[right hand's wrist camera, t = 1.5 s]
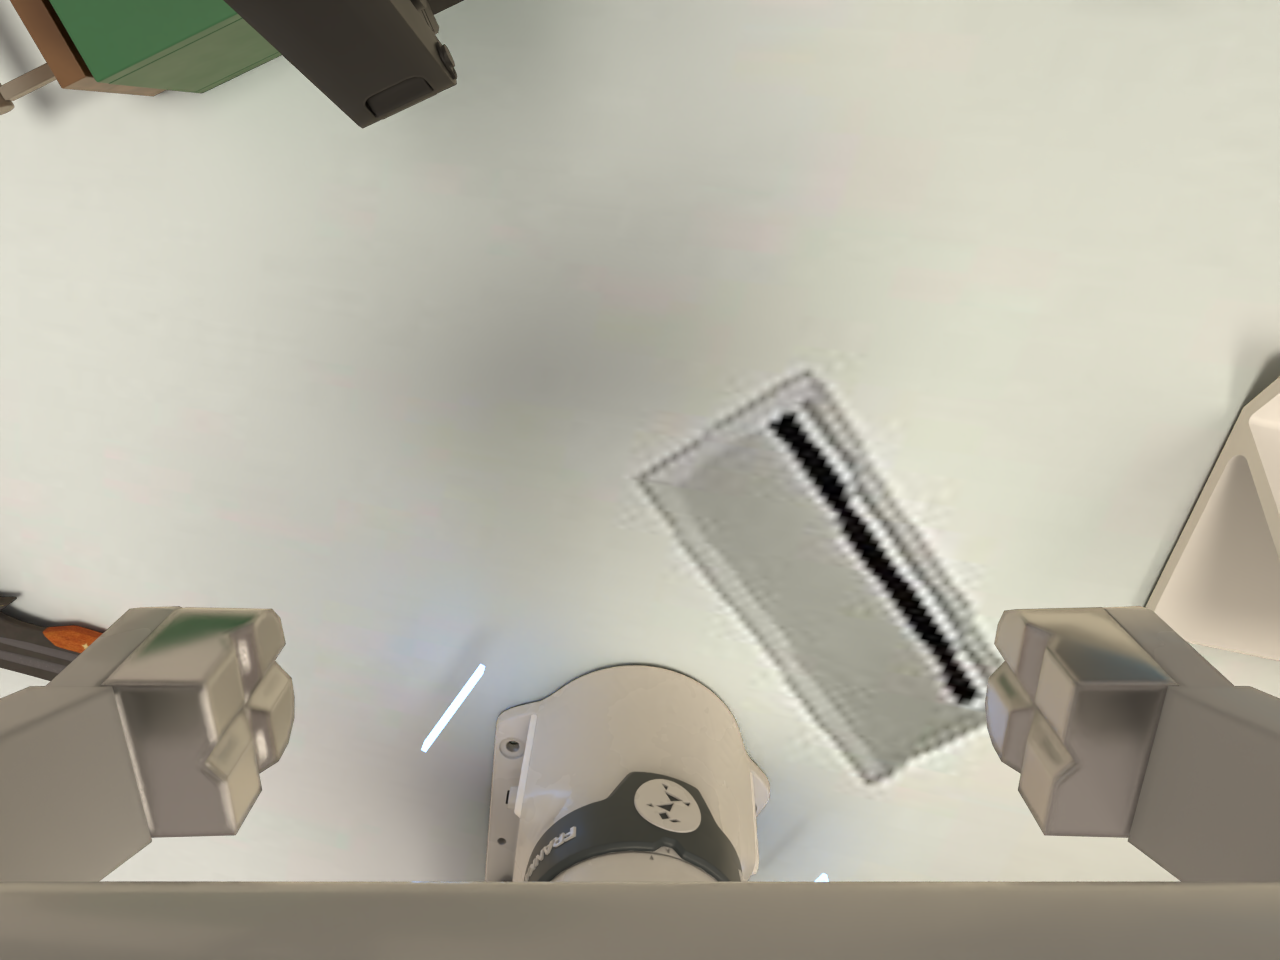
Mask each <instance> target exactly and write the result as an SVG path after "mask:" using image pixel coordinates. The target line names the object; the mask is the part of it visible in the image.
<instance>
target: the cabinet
mask: <svg viewBox="0 0 1280 960" xmlns="http://www.w3.org/2000/svg"><path fill="white" fill-rule="evenodd" d="M49 1H50V3H51V4H52V6H53V8H54V9H55V11H56V13H57V15H58V16H59V18H60V20H61V22H62V23H63V25H64V27H65V29H66V30H67V32H68V34H69V35H70V37H71V39H72V41H73V42H74V44H75V46H76V48H77V49H78V51H79V53H80V55H81V56H82V58H83V60H84V61H85V63H86V65H87V67H88V68H89V70H90V72H91V74H92V75H93V77H94V79H95V81H96V82H98V83H108V84H115V85H125V86H135V87H144V88H154V89H164V90H174V91H183V92H194V93H204V92H206V91H208V90H210V89H212V88H214V87H216V86H218V85H220V84H222V83H224V82H226V81H229V80H231V79H233V78H235V77H237V76H239V75H241V74H243V73H245V72H247V71H249V70H251V69H253V68H255V67H258V66H260V65H262V64H264V63H266V62H268V61H270V60H272V59H274V58H276V57H278V56H280V55H282V54H281V53H280V52H278V51H277V50H276V49H275V48H274V47H273V46H272V45H271V44H270V43H269V42H268V41H267V40H266V39H264V38H263V37H262V36H261V35H260V34H259V33H258V32H257V31H256V30H255V29H254V28H253V27H251V26H250V25H249V24H248V23H247V22H246V21H245V20H244V19H243V18H242V17H241V16H240V15H239V14H237V13H236V12H235V11H234V10H233V9H232V8H231V7H230V6H229V5H228V4H227V3H226V2H225V1H223V0H49Z"/></svg>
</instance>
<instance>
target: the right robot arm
mask: <svg viewBox="0 0 1280 960" xmlns="http://www.w3.org/2000/svg"><path fill="white" fill-rule="evenodd" d="M285 644H286V643H285V638H284V633H283V628H282V624H281V619H280V617H279V616H278V615H277V614H276V613H275V612H274V610H273V609H255V608H202V607H185V608H182V607H180V606H170V607H140V608H132V609H129V610H128V611H127V612H126V613H125V614H123V615H122V616H121V617H120V618H119V619H118V620H117V621H116V622H115V623H114V624H113V625H112V626H110V627H109V628H108V629H107V630H106V631H105V632H104V633H103V634H102V635H101V636H100V637H98V638H97V639H96V640H95V641H94V642H93V643H92V644H91V645H90V646H89V647H88V648H86V649H85V650H84V651H83V652H82V653H81V654H80V655H79V656H78V657H77V658H76V659H74V660H73V661H72V662H71V663H70V664H69V665H68V666H67V667H66V668H65V669H64V670H62V671H61V672H60V673H59V674H58V675H57V676H56V677H55V678H54V679H53V680H52V681H50V682H49V683H48V684H47V685H46V686H30V687H27V688H25V689H23V690H20V691H18V692H15V693H13V694H10V695H8V696H6V697H3V698H1V699H0V960H1280V699H1279V698H1277V697H1274V696H1272V695H1270V694H1267V693H1265V692H1262V691H1260V690H1257V689H1255V688H1253V687H1250V686H1234V685H1233V684H1232V683H1231V682H1230V681H1228V680H1227V679H1226V678H1225V677H1224V676H1223V675H1222V674H1221V673H1220V672H1219V671H1218V670H1217V669H1215V668H1214V667H1213V666H1212V665H1211V664H1210V663H1209V662H1208V661H1207V660H1206V659H1205V658H1204V657H1202V656H1201V655H1200V654H1199V653H1198V652H1197V651H1196V650H1195V649H1194V648H1193V647H1192V646H1190V645H1189V644H1188V643H1187V642H1186V641H1185V640H1184V639H1183V638H1182V637H1181V636H1180V635H1179V634H1177V633H1176V632H1175V631H1174V630H1173V629H1172V628H1171V627H1170V626H1169V625H1168V624H1167V623H1165V622H1164V621H1163V620H1162V619H1161V618H1160V617H1159V616H1158V615H1157V614H1156V613H1155V612H1154V611H1152V610H1151V609H1147V608H1144V607H1141V606H1129V607H1105V608H1103V607H1090V608H1048V609H1014V610H1007V611H1004V612H1003V614H1002V616H1001V619H1000V621H999V623H998V626H997V632H996V637H995V642H994V644H995V646H996V647H997V649H998V650H999V652H1000V654H1001V655H1002V657H1003V658H1004V660H1005V661H1004V662H1003V663H1002V665H1001V666H1000V667H999V668H998V669H997V670H996V671H995V672H994V673H993V674H992V675H991V676H990V677H989V678H988V685H987V693H986V700H985V709H986V720H987V729H988V732H989V735H990V738H991V741H992V745H993V747H994V749H995V750H996V752H997V754H998V756H999V758H1000V760H1001V761H1002V762H1003V763H1005V764H1006V765H1008V766H1010V767H1011V768H1013V769H1014V770H1016V771H1018V772H1019V773H1021V776H1020V781H1019V787H1018V791H1019V793H1020V794H1021V796H1022V798H1023V799H1024V801H1025V803H1026V805H1027V806H1028V808H1029V810H1030V811H1031V813H1032V815H1033V817H1034V818H1035V820H1036V822H1037V823H1038V825H1039V827H1040V828H1041V830H1042V832H1043V834H1044V835H1053V836H1089V837H1126V838H1128V842H1130V843H1131V844H1132V845H1134V846H1135V847H1136V848H1137V849H1139V850H1140V851H1141V852H1143V853H1144V854H1145V855H1147V856H1148V857H1149V858H1151V859H1152V860H1153V861H1155V862H1156V863H1157V864H1159V865H1160V866H1161V867H1163V868H1164V869H1165V870H1167V871H1168V872H1169V873H1171V874H1172V875H1173V876H1175V877H1176V878H1177V879H1179V880H1180V881H1181V882H829V881H828V878H827V875H826V874H824V873H823V874H822V875H821V876H820V877H819V878H818V879H817V880H816V881H815V882H748V880H749V879H750V877H751V875H754V874H756V873H757V870H758V865H759V854H758V839H757V825H756V817H757V816H758V815H759V813H760V812H761V811H762V809H763V808H764V807H765V805H766V804H767V802H768V801H769V798H770V785H769V781H768V779H767V777H766V776H765V774H764V773H763V772H762V771H761V769H760V768H759V767H758V766H757V765H756V764H755V763H754V762H753V761H752V760H751V759H750V758H749V756H748V754H747V752H746V750H745V747H744V744H743V740H742V737H741V733H740V730H739V727H738V725H737V723H736V721H735V719H734V717H733V715H732V714H731V712H730V711H729V709H728V708H727V706H726V705H725V704H724V703H723V702H722V701H721V700H720V699H719V698H718V697H717V696H716V695H715V694H714V693H713V692H712V691H710V690H709V689H708V688H706V687H705V686H704V685H702V684H700V683H699V682H697V681H695V680H693V679H692V678H689V677H687V676H685V675H683V674H680V673H677V672H674V671H671V670H667V669H663V668H658V667H652V666H640V665H628V666H617V667H611V668H606V669H601V670H598V671H594V672H592V673H589V674H586V675H584V676H581V677H579V678H577V679H575V680H573V681H572V682H570V683H568V684H567V685H565V686H564V687H562V688H561V689H559V690H558V691H556V692H555V693H554V694H552V695H551V696H549V697H547V698H545V699H543V700H541V701H538V702H533V703H529V704H524V705H520V706H517V707H513V708H511V709H508V710H506V711H504V712H503V713H502V714H500V716H499V717H498V719H497V723H496V734H495V747H494V761H493V774H492V788H491V802H490V815H489V829H488V843H487V856H486V870H485V882H99V881H100V880H102V879H103V878H104V877H106V876H107V875H108V874H110V873H111V872H112V871H114V870H115V869H116V868H118V867H119V866H120V865H122V864H123V863H124V862H126V861H127V860H128V859H130V858H131V857H132V856H134V855H135V854H136V853H138V852H139V851H140V850H142V849H143V848H144V847H145V846H147V845H148V844H149V843H151V842H152V839H151V838H154V837H189V836H225V835H236V834H237V832H238V830H239V829H240V827H241V825H242V823H243V822H244V820H245V818H246V817H247V815H248V813H249V811H250V810H251V808H252V806H253V805H254V803H255V801H256V799H257V798H258V796H259V794H260V793H261V791H262V787H261V781H260V776H259V773H261V772H262V771H264V770H266V769H267V768H269V767H270V766H272V765H274V764H275V763H277V762H278V761H279V759H280V758H281V756H282V754H283V752H284V750H285V748H286V747H287V745H288V743H289V738H290V734H291V730H292V726H293V721H294V699H295V697H294V690H293V684H292V678H291V677H290V676H289V675H288V674H287V673H286V672H285V671H284V670H283V669H282V668H281V667H280V666H279V665H278V663H277V662H276V661H275V660H276V658H277V657H278V655H279V654H280V652H281V650H282V649H283V647H284V646H285ZM484 669H485V666H483V665H482V664H480V665H479V667H478V668H477V670H476V671H475V672H474V674H473V675H472V676H471V678H470V679H469V681H468V682H467V683H466V685H465V686H464V687H463V689H462V690H461V692H460V693H459V694H458V696H457V697H456V698H455V700H454V701H453V703H452V704H451V705H450V707H449V708H448V709H447V711H446V712H445V714H444V715H443V716H442V718H441V719H440V720H439V722H438V723H437V725H436V726H435V727H434V729H433V730H432V731H431V733H430V734H429V736H428V737H427V738H426V740H425V741H424V743H423V746H422V749H421V750H422V751H424V752H426V751H427V750H428V748H429V747H430V746H431V744H432V743H433V742H434V740H435V739H436V737H437V736H438V735H439V733H440V732H441V731H442V729H443V728H444V726H445V725H446V724H447V722H448V721H449V720H450V718H451V717H452V716H453V714H454V713H455V711H456V710H457V709H458V707H459V706H460V705H461V703H462V702H463V701H464V699H465V698H466V696H467V695H468V694H469V692H470V691H471V690H472V688H473V687H474V685H475V684H476V683H477V681H478V680H479V679H480V677H481V676H482V675H483V672H484ZM509 741H515V742H517V743H518V744H517V745H513V744H510V743H509Z"/></svg>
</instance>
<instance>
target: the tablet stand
mask: <svg viewBox="0 0 1280 960" xmlns="http://www.w3.org/2000/svg"><path fill="white" fill-rule="evenodd" d="M1145 608H1147V609H1151V610H1152V611H1154V612H1155V613H1156V614H1157V615H1158V616H1159V617H1160V618H1161V619H1162V620H1163V621H1164V622H1165V623H1167V624H1168V625H1169V626H1170V627H1171V628H1172V629H1173V630H1174V631H1175V632H1176V633H1177V634H1179V635H1180V636H1181V637H1182V638H1183V639H1184V640H1185V641H1186V642H1189V643H1194V644H1199V645H1203V646H1208V647H1213V648H1218V649H1223V650H1228V651H1233V652H1238V653H1242V654H1247V655H1252V656H1257V657H1262V658H1267V659H1272V660H1277V661H1280V377H1278V378H1277V379H1276V380H1275V381H1274V382H1273V383H1271V384H1270V385H1269V386H1268V387H1267V388H1265V389H1264V390H1263V391H1262V392H1261V393H1260V394H1258V395H1257V396H1256V397H1255V398H1254V399H1253V400H1251V401H1250V402H1249V403H1248V404H1247V405H1246V406H1244V407H1243V409H1242V411H1241V413H1240V415H1239V417H1238V419H1237V421H1236V423H1235V425H1234V427H1233V430H1232V432H1231V434H1230V436H1229V438H1228V440H1227V442H1226V444H1225V446H1224V448H1223V450H1222V452H1221V454H1220V456H1219V458H1218V460H1217V462H1216V464H1215V466H1214V468H1213V470H1212V472H1211V474H1210V476H1209V478H1208V481H1207V483H1206V485H1205V487H1204V489H1203V491H1202V493H1201V495H1200V497H1199V499H1198V501H1197V503H1196V505H1195V507H1194V509H1193V511H1192V513H1191V515H1190V517H1189V519H1188V521H1187V523H1186V525H1185V527H1184V529H1183V532H1182V534H1181V536H1180V538H1179V540H1178V542H1177V544H1176V546H1175V548H1174V550H1173V552H1172V554H1171V556H1170V558H1169V560H1168V562H1167V564H1166V566H1165V568H1164V570H1163V572H1162V574H1161V576H1160V578H1159V580H1158V583H1157V585H1156V587H1155V589H1154V591H1153V593H1152V595H1151V597H1150V599H1149V601H1148V603H1147V605H1146V607H1145Z"/></svg>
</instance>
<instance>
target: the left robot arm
mask: <svg viewBox="0 0 1280 960" xmlns="http://www.w3.org/2000/svg"><path fill="white" fill-rule="evenodd" d="M223 1H225V2H226V3H227V4H228V5H229V6H230V7H231V8H232V9H233V10H234V11H235V12H236V13H237V14H239V15H240V16H241V17H242V18H243V19H244V20H245V21H246V22H247V23H248V24H249V25H250V26H251V27H253V28H254V29H255V30H256V31H257V32H258V33H259V34H260V35H261V36H262V37H263V38H264V39H266V40H267V41H268V42H269V43H270V44H271V45H272V46H273V47H274V48H275V49H276V50H277V51H278V52H280V53H281V54H282V55H283V56H284V57H285V58H286V59H287V60H288V61H289V62H290V63H291V64H293V65H294V66H295V67H296V68H297V69H298V70H299V71H300V72H301V73H302V74H303V75H304V76H305V77H307V78H308V79H309V80H310V81H311V82H312V83H313V84H314V85H315V86H316V87H317V88H318V89H319V90H321V91H322V92H323V93H324V94H325V95H326V96H327V97H328V98H329V99H330V100H331V101H332V102H334V103H335V104H336V105H337V106H338V107H339V108H340V109H341V110H342V111H343V112H344V113H345V114H346V115H348V116H349V117H350V118H351V119H352V120H353V121H354V122H355V123H356V124H357V125H358V126H360V127H361V128H365V127H367V126H369V125H371V124H373V123H375V122H377V121H380V120H382V119H385V118H387V117H389V116H391V115H393V114H396V113H398V112H400V111H402V110H404V109H406V108H408V107H411V106H413V105H415V104H417V103H419V102H421V101H423V100H425V99H428V98H430V97H432V96H434V95H436V94H437V93H439V92H441V91H443V90H446V89H448V88H450V87H452V86H454V85H456V84H457V83H456V79H457V74H456V71H455V69H454V66H455V64H454V61H453V58H452V56H451V54H450V52H449V50H448V48H447V47H446V45H445V44H444V45H442V44H441V43H440V42H439V40H438V39H437V37H436V35H435V34H437V33H438V31H439V26H438V24H437V22H436V19H435V17H434V14H436V13H439V12H441V11H443V10H445V9H447V8H449V7H451V6H453V5H455V4H457V3H459V2H461V1H463V0H223Z"/></svg>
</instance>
